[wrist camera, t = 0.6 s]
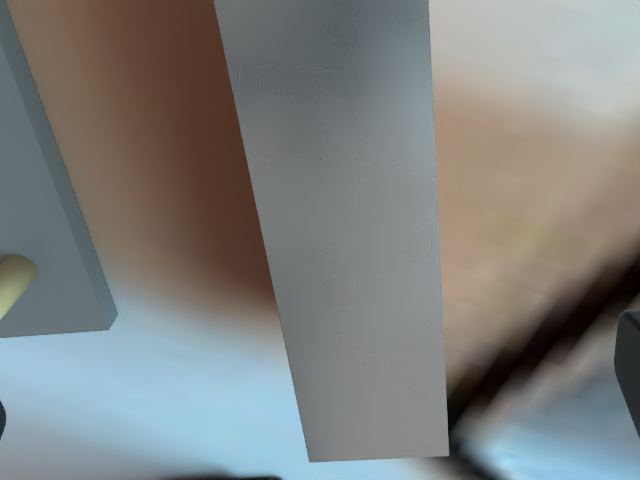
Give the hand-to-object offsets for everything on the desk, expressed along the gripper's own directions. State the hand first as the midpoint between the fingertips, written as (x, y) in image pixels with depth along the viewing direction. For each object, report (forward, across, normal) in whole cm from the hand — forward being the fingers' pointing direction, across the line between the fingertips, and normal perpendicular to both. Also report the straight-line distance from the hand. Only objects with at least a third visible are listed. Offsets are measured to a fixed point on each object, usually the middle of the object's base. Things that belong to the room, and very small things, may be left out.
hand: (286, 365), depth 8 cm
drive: (+12, -1, 0) cm, 13 cm away
